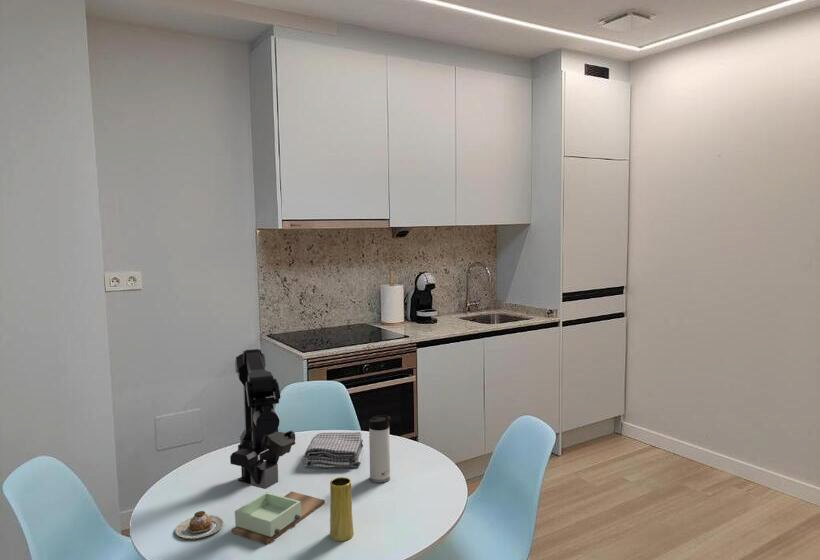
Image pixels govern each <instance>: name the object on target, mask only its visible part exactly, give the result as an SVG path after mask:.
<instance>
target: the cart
mask: <svg viewBox="0 0 820 560" xmlns="http://www.w3.org/2000/svg"><path fill="white" fill-rule="evenodd" d="M300 516H301V501H297V500H294V499H290V498H286V497H284V496H282V495H278V494H274V493H270V492H264V493H263V494H261V495H259V496H257V497H256V498H254V499H252V500H251V501H249V502H247V503H246V504H245V505H243V506H241V507H239V508H237V509H236V510H235V511H234V524H235V527H236V526H237V527H241V528H244V529H247V530H250V531H253V532H257V533H260V534H263V535H266V536H269V537H272V536H273V535H275V534H279V533H280V530H282V529H283V528H284V527H286V526H287V525H289V524H290V523H292V522H293V521H294V520H296V519H297V520H299V519H300Z"/></svg>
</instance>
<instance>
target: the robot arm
mask: <svg viewBox="0 0 820 560" xmlns="http://www.w3.org/2000/svg"><path fill="white" fill-rule="evenodd" d="M234 368H235V374H237V377H238V379H239V381H240V382H241V384H242V385H243V386H242V389H243V412H244V413H243V416H244V417H243V418H244V429H243V430H242V433H241V435H240V436H239V444H237V450H236V451H234V452H232V453H231V455H230V456H229V459H230V461H229V462H230V465H234V466H237V467H241V476H240V477H239V478H237V481H238V482H239V481H240V482H243V483H247V484H250V485H251V476H252V478H253V480H254V482H255V483H256V484H260V466H261V464H262V463H263V462H264V461H267V462H272V463H277V464H278V462H279V460H280V457H283V456H284V455H286V454H287V453H288V454H289V453H290V452H291V450H292V446H294V445H296V433H295V432H294V431H293V430H288V431H287V432H282V431H279V426H280V417H279V416H278V414H277V412H276V411H275V409H274V405H275V404H277V405H278V404H280V400H281V393H280V391H281V390H280V386H279V382H278V381H277V378H274V375H273V373H272V372H271V371H268V370H266V356H265V354H264V353H263V352H262V349H259V348H256V349H255V348H253V349H252V348H251V349H245V350H243V351H242V353H240V354H239V355H238V356H236V357H235V362H234Z"/></svg>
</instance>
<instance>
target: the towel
mask: <svg viewBox="0 0 820 560" xmlns="http://www.w3.org/2000/svg"><path fill="white" fill-rule="evenodd" d="M363 453H364V445H363V439H362V433H361V432H359V431H355V432H319V433H317V434H315V435H314V437H313V438H312V439H311V441H310V444H309V445H308V446H307V448H306V450H305V452H304V457H305V458H306V461H305V464H304V466H305V467H307V468H310V469H325V468H326V469H330V468H332V469H333V468H335V469H337V468H338V469H339V468H350V469H351V468H354V469H355V468H356V469H358V468H359V467H360V465H361V462H362V459H363ZM357 467H358V468H357Z"/></svg>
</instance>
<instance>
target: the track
mask: <svg viewBox="0 0 820 560" xmlns="http://www.w3.org/2000/svg"><path fill="white" fill-rule="evenodd" d="M283 497H286V498H290V499H294V500H297V501H301V516H300V519H299V520H297V519H296V520H294V521H293V522H292V523H290V524H289V525H287V526H286V527H284V528H283V529H282V530H280V533H279V534H275V535H273V536H272V537H269V536H266V535H263V534H260V533H257V532H253V531H250V530H247V529H244V528H241V527H237V526H235V527H233V528H231V533H232V534H233V535H238V536H240V537H243V538H245V539H246V538H247V539H249V540H252V541H255V542H258V541H259V542H260V543H261V542H262V544H266V545H269V544H271V541H272V542H273V541H275V540H276V539H277V538H279V537H280V536H282V535H283V534H284V533H286V532H287V531H289V530H290V529H292V527H294V526H296V525H297V524H298V523H299V522H301V521H303V520H304V519H306V517H308V516H310V515H311V514H313V513H314V512H315V511H317V510H318V509H319V508H321V507H322V506H323V505H325V504H326V499H322V498H320V497H319V498H318V497H314V496H312V495H311V496H310V495H306V494H303V493H300V492H295V491H290V492H288V493H287V494H286V495H283ZM274 539H275V540H274Z"/></svg>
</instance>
